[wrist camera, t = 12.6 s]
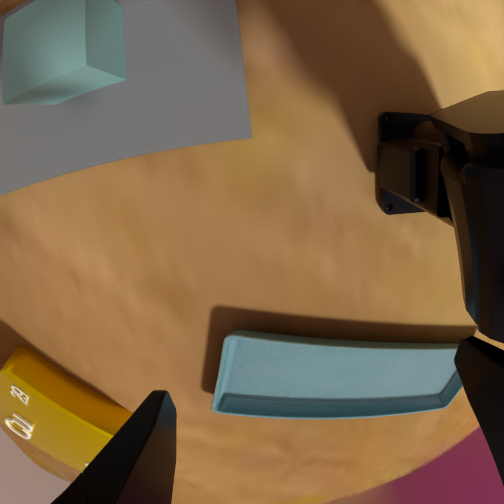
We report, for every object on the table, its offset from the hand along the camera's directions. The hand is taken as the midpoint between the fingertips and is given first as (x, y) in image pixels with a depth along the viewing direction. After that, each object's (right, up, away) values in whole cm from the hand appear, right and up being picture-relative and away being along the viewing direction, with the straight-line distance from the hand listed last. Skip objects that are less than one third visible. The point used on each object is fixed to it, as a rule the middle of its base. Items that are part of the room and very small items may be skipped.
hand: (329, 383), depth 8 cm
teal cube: (-12, +15, +5) cm, 20 cm away
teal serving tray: (+8, -7, +17) cm, 20 cm away
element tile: (-23, -14, +18) cm, 33 cm away
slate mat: (-12, +15, +6) cm, 20 cm away
